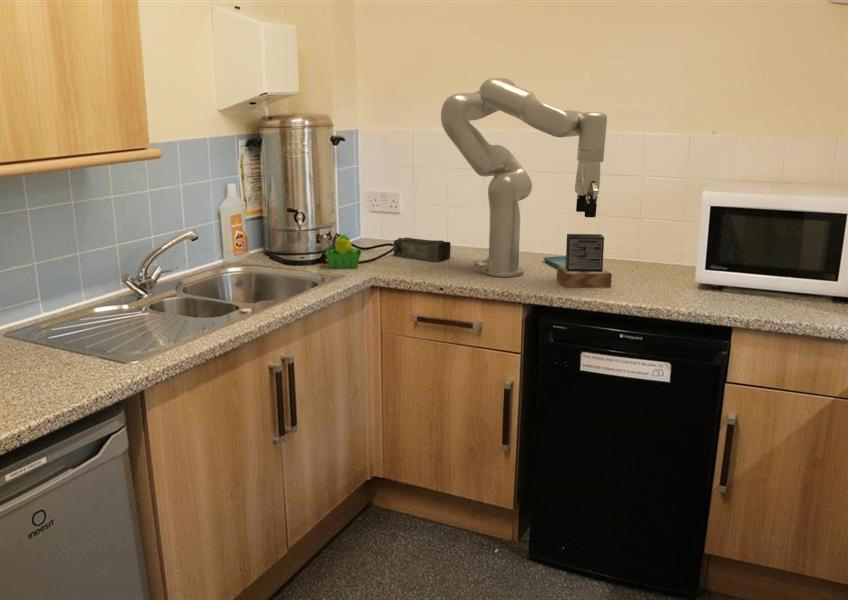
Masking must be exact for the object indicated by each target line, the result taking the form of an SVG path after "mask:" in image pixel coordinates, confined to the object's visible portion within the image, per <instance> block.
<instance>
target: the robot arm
mask: <svg viewBox="0 0 848 600" xmlns="http://www.w3.org/2000/svg"><path fill="white" fill-rule="evenodd" d="M498 111H500V112H501V113H504V114H507V115H509V116H511V117H514V118H516V119H518V120H521V121H522V122H523V123H524V124H526V125H528V126H530V127H532V128H533V129H536V130H538V131H540V132H542V133H545V134H547V135H550V136H552V137H555V138H568V137H569V138H570V137H578V145H577V156H576V157H577V158H576V160H577V161H578V163H577V169H576V177H575V184H574V192H575V193H576V204H575V206H576V207H575V211H576V212H577V213H584V214H583V215H584V218H596V215H597V207H598V195H599V192H600V182H601V163H603V162H604V159H605V157H604V156H605V146H606V135H607V125H608V123H607V122H608V116H607V114H605V113H603V112H597V111H596V112H595V111H594V112H590V111H589V112H588V111H587V112H582V111H577V110H574V109H573V110H571V109H570V110H566V109H565V110H562V109H561V110H560V109H559V108H555V107H553V106H550V105H549V104H546V103H544V102H541V101H540V100H539V99H537V97H536V95H535V93H533V92H532V91H529V90H527V89H525V88H522V87H520V86H516V84H515V83H514V82H513V81H512V80H511V79H509V78H505V77H491V78H488V79H486V80H484V81H483V82H482V84H481V85H480V87H479V90H477V91H475V92H473V93H472V92H462V93H461V92H459V93H454V94H452V95H450V96H448V97H447V98H446V100H444V102H443V104H442V107H441V110H440V112H441V113H440V122H441V125H442V128H443V130H444V132H445V134H446V136H447V137H448V138H449V139H450V141H451V142H452V143H453V145H455V147H456V148H457V150H458V151H459V152H460V154H461V155H462V156H463V157H464V159H465V160H466V161H467V164H469V166H470V167H471V169H473V171H474V173H476V174H477V175H478V176H480V177H484V178H485V177H492V176H493V178H492V179H491V180H490V181H489V184H488V187H487V196H488V197H487V198H488V205H489V231H488V232H489V235H488V236H489V237H488V238H489V239H488V242H489V243H488V256H486V259H483V260H476V259H475V260H473V267H478V268H483V273H484V274H485V275H488V276H492V277H500V278H501V277H502V278H508V277H509V278H510V277H520V276H521V275H523V274H524V269H523V268H521V267H519V261H520V258H519V257H520V235H521V234H520V233H521V211H520V205H519V201H523V200H525V199H527V198H528V197H529V196H530V195H531V192H532V190H533V183H532V182H533V181H532V180H531V177H530V176H529V174H528V173H527V172H526V169H524V168H523V166H522V165H521V164H520V162H519V161H518V160H517V159H516V157H515V155H513V154H512V152H511V151H510V150H509V149H507V148H506V147H505V146H503V145H500V144H490V143H489V142H488V141H487V139H486V138H485V137H484V136H483V135H482V133H481V132H480V131H479V130H478V129H477V128H476V127H475V126H474V125H473V124H472V123H471V122H470V121H477V120H478V121H479V120H480V119H483V118H485V117H487V116H490V115H492V114H494V113H497V112H498Z"/></svg>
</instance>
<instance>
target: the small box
mask: <svg viewBox="0 0 848 600" xmlns="http://www.w3.org/2000/svg"><path fill="white" fill-rule="evenodd" d="M604 245H605V236H604V235H602V234H600V233H599V234H594V233H592V234H591V233H567V234H566V251H565V256H566V269H567V271H594V272H602V271H603V268H604V250H605V249H604V248H605V247H604Z"/></svg>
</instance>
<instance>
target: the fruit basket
mask: <svg viewBox="0 0 848 600" xmlns="http://www.w3.org/2000/svg"><path fill="white" fill-rule="evenodd" d="M352 244H353V243H352V242H351V240H350V238H349V236H347V235H346V234H345V233H344V234H341V235H339V236H338V237H337V239H336V240H335V244H334V246H335V247H334V249H330V248H329V249H328V248H327V249H326V252H325V256H326V259H327V262H328V267H329V268H330V269H357V268H358V265H359V261H360V258H361V254H362V249H356V248H353V247H352Z"/></svg>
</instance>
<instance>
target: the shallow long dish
mask: <svg viewBox="0 0 848 600" xmlns="http://www.w3.org/2000/svg"><path fill="white" fill-rule="evenodd" d="M543 260H544V261H545V263H546V264H548V265H549V266H552V267H553V266H554V267H553V268H555V269H557V267H559V266H566V255H565V256H564V255H562V256H561V255H560V256H545V257H543Z"/></svg>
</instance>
